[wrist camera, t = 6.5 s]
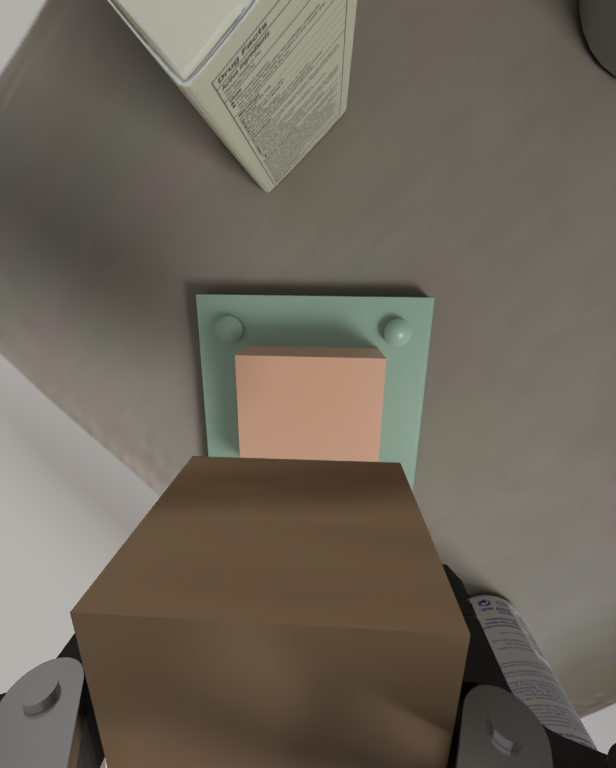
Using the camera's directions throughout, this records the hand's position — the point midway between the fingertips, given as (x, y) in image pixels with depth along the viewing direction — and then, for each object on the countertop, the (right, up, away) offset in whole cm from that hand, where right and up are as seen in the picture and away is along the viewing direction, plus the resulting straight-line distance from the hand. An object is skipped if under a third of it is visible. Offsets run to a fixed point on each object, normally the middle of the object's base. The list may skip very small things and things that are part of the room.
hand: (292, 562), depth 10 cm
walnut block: (0, 0, +1) cm, 1 cm away
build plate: (+1, +4, +13) cm, 14 cm away
